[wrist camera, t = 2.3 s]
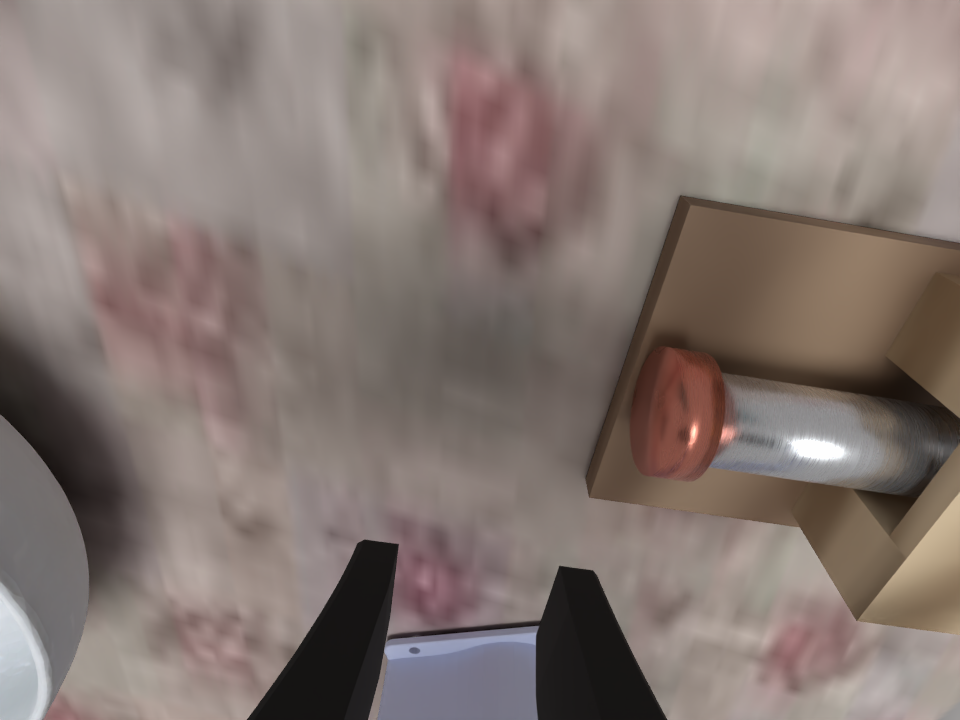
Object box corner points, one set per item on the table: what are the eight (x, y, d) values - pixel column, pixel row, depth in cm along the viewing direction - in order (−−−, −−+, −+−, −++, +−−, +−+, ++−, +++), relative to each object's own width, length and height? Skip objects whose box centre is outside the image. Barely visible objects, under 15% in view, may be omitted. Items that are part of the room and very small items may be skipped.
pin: (622, 422, 19) (647, 504, 16) (657, 323, 17) (694, 392, 14) (908, 465, 19) (990, 553, 16) (973, 374, 18) (1082, 452, 14)
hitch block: (585, 478, 22) (614, 634, 16) (680, 195, 16) (775, 281, 11) (951, 531, 22) (1101, 697, 17) (1161, 277, 17) (1488, 398, 11)
